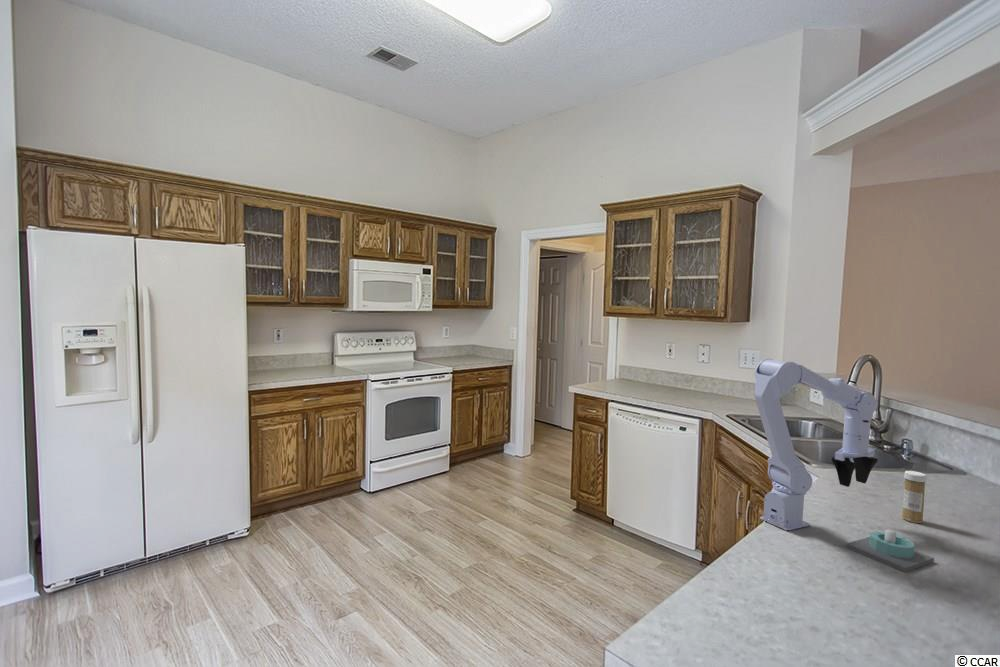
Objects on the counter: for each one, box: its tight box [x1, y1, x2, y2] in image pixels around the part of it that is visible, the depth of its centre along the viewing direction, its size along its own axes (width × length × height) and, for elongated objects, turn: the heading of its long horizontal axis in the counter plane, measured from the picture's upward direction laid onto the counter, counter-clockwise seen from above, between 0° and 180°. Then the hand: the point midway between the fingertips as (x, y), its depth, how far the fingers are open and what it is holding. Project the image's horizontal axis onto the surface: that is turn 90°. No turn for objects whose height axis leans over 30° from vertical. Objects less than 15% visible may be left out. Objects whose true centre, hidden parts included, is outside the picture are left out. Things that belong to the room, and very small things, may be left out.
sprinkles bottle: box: [901, 470, 927, 524], centre depth 134 cm, size 5×5×14 cm
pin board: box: [845, 529, 935, 573], centre depth 113 cm, size 12×12×6 cm
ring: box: [869, 531, 915, 559], centre depth 114 cm, size 8×8×2 cm
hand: (852, 483), depth 132 cm, fingers open, 7 cm apart
